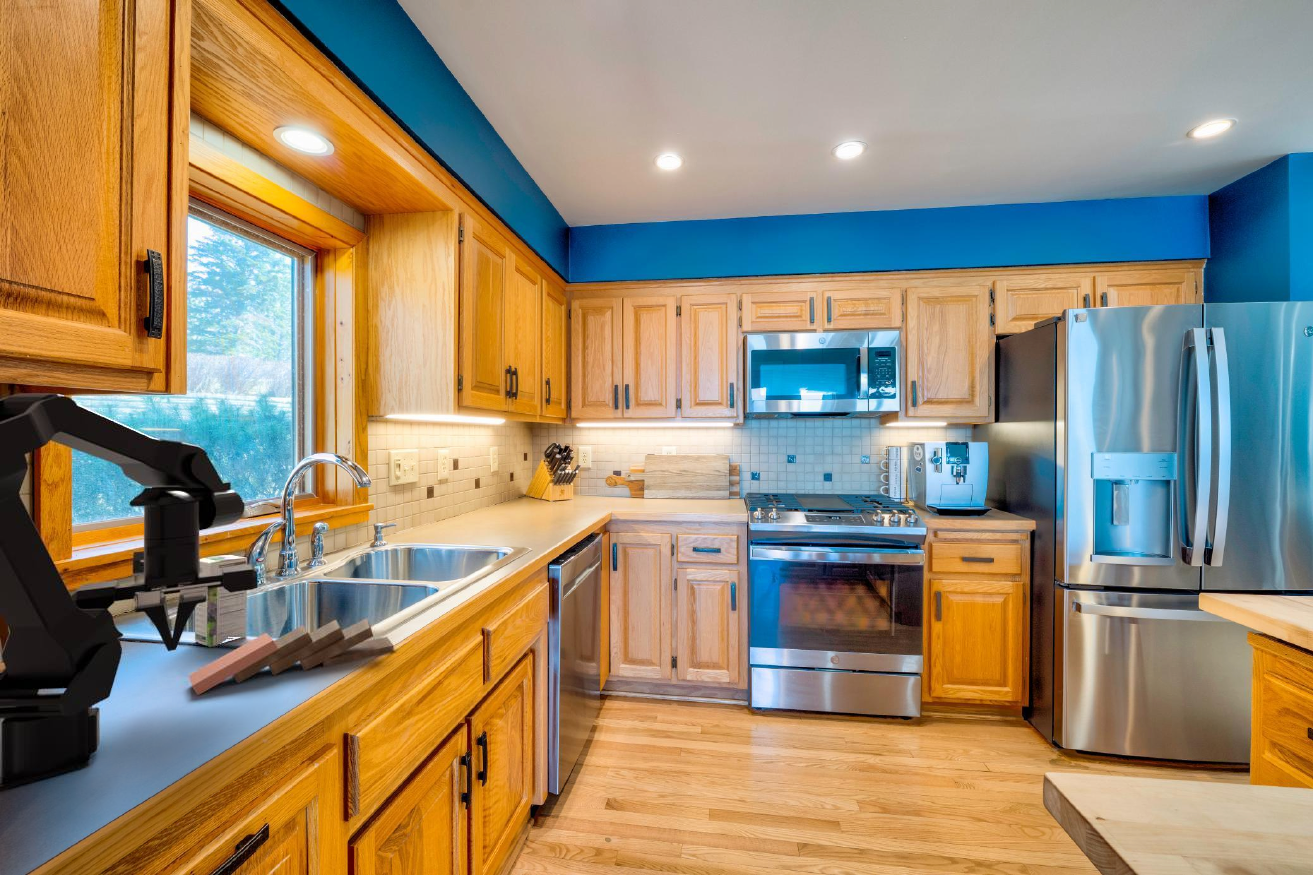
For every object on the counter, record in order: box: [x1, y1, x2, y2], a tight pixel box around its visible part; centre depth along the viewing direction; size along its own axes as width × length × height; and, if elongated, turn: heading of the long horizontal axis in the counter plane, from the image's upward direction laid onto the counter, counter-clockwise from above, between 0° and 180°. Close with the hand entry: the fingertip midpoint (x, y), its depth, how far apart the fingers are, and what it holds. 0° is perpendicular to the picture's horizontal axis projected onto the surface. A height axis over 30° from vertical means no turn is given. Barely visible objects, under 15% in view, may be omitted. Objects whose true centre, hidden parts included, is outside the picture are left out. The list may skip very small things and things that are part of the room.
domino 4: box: [299, 618, 374, 672], centre depth 88 cm, size 2×5×10 cm
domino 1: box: [187, 632, 278, 696], centre depth 80 cm, size 2×5×10 cm
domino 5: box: [321, 636, 394, 667], centre depth 90 cm, size 2×5×10 cm
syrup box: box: [194, 554, 248, 648], centre depth 97 cm, size 6×6×14 cm
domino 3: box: [268, 619, 344, 676], centre depth 86 cm, size 2×5×10 cm
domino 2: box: [232, 624, 313, 684], centre depth 84 cm, size 2×5×10 cm
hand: (172, 649), depth 75 cm, fingers closed
